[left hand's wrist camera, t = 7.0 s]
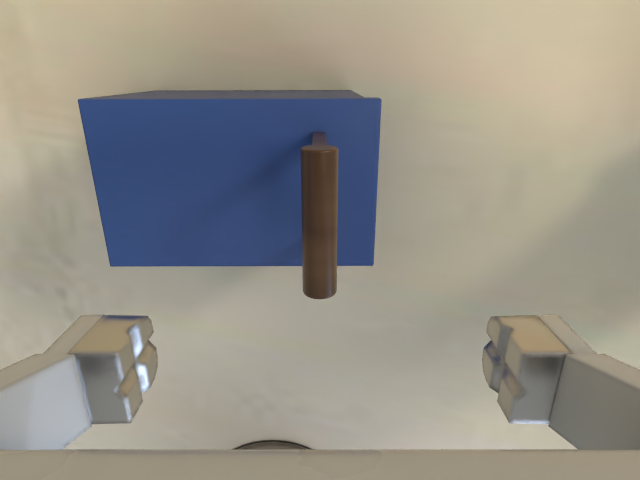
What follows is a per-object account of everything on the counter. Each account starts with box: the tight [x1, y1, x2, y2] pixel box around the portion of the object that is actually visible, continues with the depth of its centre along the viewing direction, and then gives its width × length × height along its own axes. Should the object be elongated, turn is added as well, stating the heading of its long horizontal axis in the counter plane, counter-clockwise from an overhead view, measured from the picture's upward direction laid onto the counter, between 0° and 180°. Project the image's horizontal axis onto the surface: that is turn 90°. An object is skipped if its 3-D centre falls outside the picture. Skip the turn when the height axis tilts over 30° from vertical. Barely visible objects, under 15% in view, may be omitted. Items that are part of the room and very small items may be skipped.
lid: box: [78, 98, 381, 299], centre depth 21 cm, size 16×10×8 cm, turn 90°
